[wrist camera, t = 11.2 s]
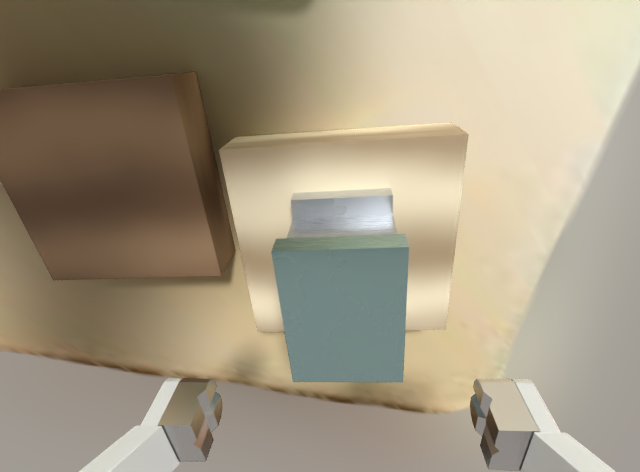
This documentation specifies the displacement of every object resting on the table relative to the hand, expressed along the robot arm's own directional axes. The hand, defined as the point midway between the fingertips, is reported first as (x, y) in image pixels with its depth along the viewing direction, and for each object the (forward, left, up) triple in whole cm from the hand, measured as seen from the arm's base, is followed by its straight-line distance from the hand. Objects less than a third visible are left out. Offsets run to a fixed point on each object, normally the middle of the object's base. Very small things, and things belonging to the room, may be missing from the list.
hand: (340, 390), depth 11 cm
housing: (0, 0, -10) cm, 10 cm away
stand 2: (0, 0, -13) cm, 13 cm away
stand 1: (-4, -13, -13) cm, 18 cm away
